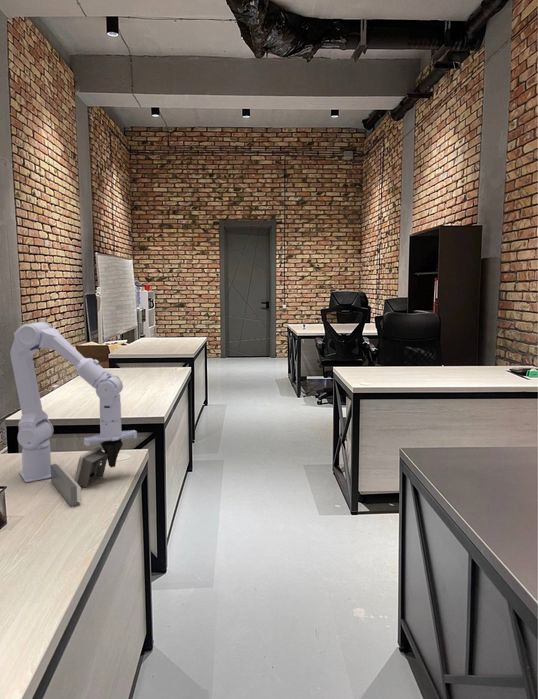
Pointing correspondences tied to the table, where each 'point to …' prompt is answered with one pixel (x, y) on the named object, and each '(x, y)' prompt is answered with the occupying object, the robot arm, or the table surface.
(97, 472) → the electrical switch
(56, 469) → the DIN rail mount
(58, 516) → the table surface
